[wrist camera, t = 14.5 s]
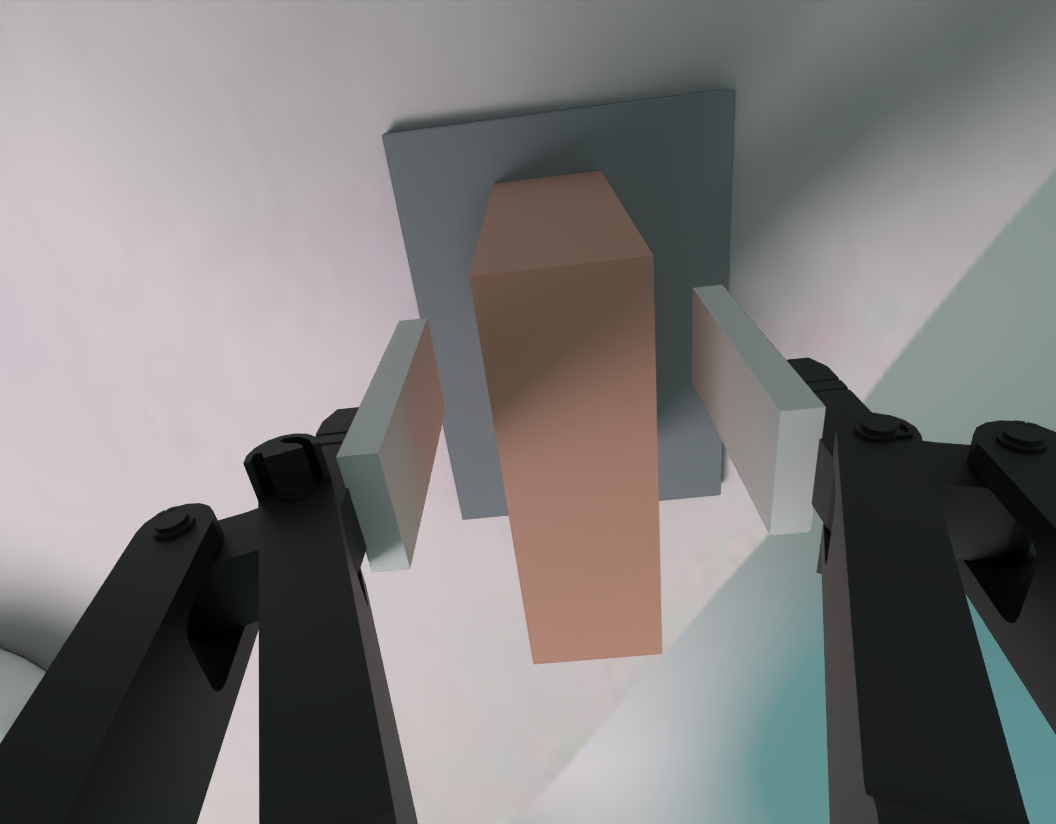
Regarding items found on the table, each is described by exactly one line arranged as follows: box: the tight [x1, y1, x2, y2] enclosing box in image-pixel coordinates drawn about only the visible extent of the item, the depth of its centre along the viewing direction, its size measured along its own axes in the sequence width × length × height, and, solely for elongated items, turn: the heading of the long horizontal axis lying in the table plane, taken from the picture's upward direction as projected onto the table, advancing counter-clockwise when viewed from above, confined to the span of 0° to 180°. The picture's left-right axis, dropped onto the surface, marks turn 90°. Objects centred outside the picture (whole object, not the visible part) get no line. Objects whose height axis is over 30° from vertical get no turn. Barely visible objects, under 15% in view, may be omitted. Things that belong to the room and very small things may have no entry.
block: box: [469, 170, 662, 664], centre depth 18 cm, size 3×9×10 cm
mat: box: [382, 89, 735, 520], centre depth 22 cm, size 10×14×1 cm
